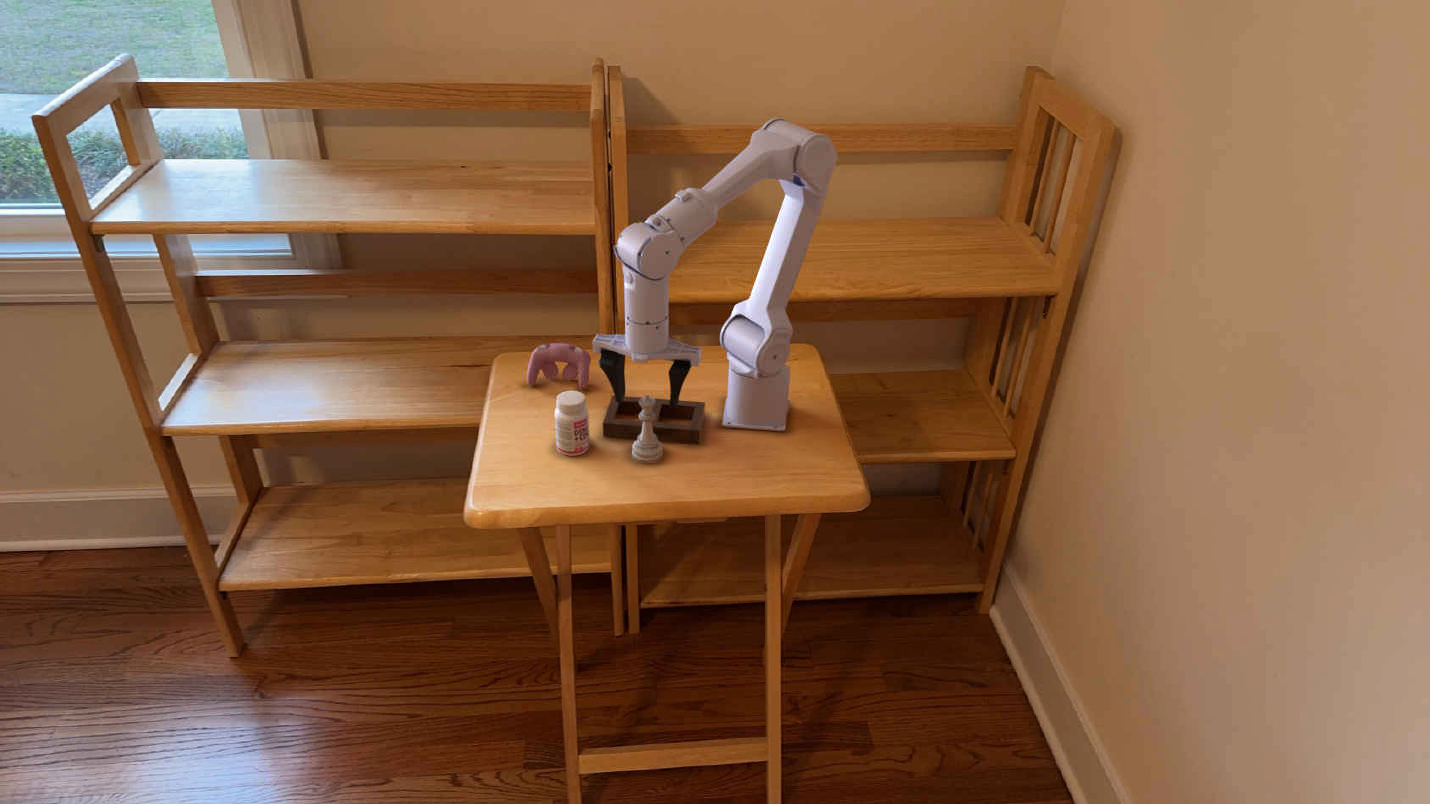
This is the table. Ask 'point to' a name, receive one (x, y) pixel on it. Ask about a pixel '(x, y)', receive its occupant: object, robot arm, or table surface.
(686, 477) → the table surface
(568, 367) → the video game controller
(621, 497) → the table surface
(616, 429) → the stand
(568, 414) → the pill bottle
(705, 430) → the table surface
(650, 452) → the chess piece
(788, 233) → the robot arm
